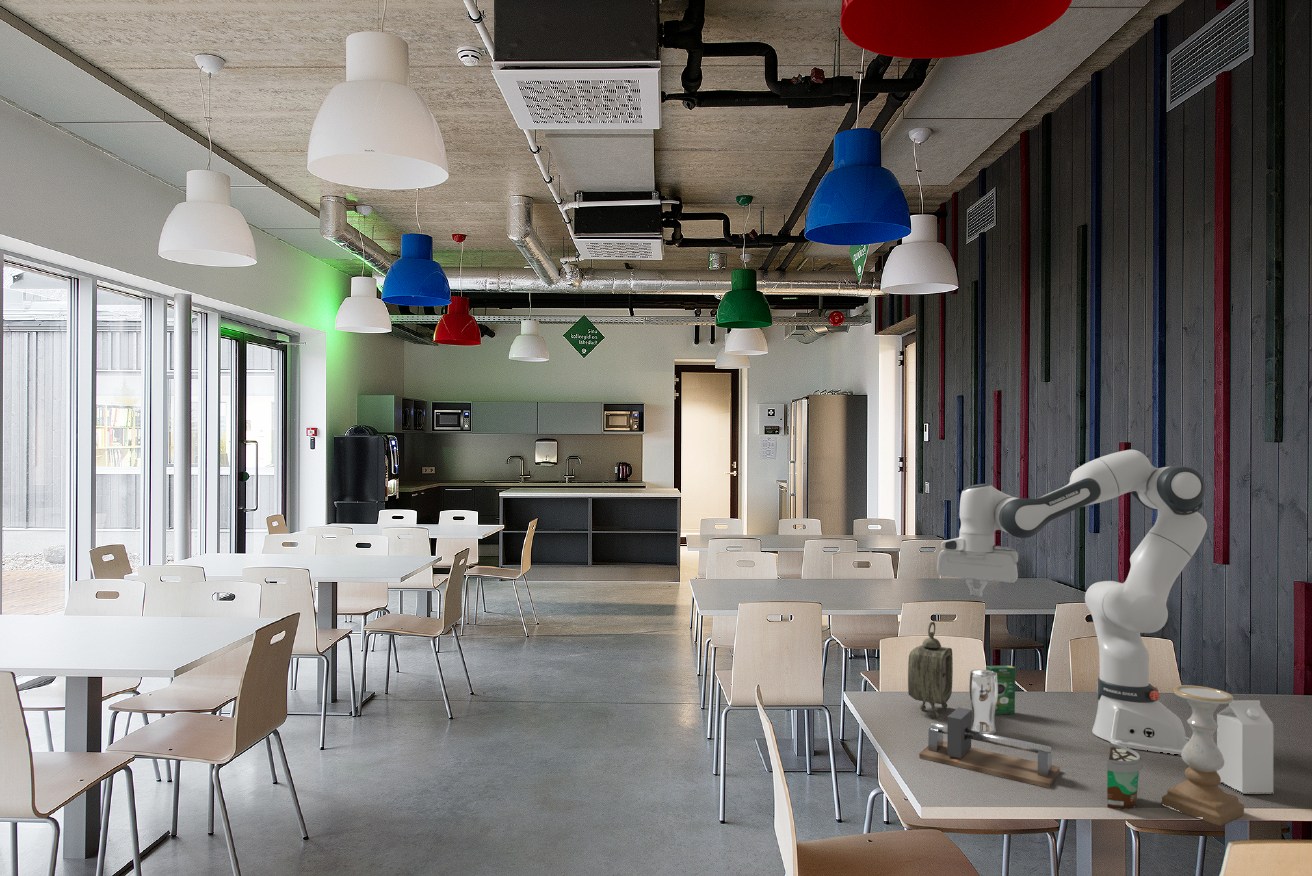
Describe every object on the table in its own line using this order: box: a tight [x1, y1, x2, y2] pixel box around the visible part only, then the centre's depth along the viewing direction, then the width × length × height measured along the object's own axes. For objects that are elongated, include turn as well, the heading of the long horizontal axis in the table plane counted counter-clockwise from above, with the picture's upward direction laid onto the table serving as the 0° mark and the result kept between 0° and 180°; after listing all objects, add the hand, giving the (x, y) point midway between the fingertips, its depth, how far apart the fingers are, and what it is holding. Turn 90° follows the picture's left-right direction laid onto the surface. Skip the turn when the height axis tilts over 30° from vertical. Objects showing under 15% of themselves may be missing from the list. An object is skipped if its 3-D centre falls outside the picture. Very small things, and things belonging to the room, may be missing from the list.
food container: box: [1106, 742, 1144, 810], centre depth 166 cm, size 12×6×10 cm, turn 148°
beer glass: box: [968, 668, 998, 735], centre depth 209 cm, size 7×7×15 cm
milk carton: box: [1216, 699, 1274, 793], centre depth 175 cm, size 7×7×19 cm
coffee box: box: [985, 665, 1017, 716], centre depth 224 cm, size 8×3×13 cm, turn 103°
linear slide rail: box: [927, 721, 1053, 777], centre depth 186 cm, size 26×5×6 cm, turn 54°
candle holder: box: [1161, 684, 1245, 827], centre depth 163 cm, size 11×11×24 cm
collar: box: [946, 706, 972, 759], centre depth 190 cm, size 3×9×9 cm, turn 144°
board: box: [918, 740, 1061, 789], centre depth 186 cm, size 28×12×1 cm, turn 54°
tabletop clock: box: [907, 621, 954, 719], centre depth 225 cm, size 14×9×25 cm, turn 148°
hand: (976, 596), depth 215 cm, fingers closed
